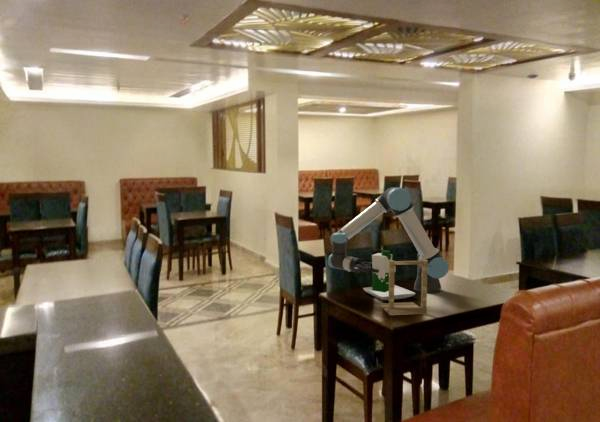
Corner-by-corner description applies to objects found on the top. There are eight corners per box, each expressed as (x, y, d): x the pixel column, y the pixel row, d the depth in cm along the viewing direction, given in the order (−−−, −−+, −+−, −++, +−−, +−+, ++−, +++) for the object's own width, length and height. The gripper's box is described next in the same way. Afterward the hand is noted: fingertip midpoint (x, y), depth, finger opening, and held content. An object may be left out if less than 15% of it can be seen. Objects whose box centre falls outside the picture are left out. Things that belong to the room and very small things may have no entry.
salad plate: (362, 293, 268) (362, 287, 267) (394, 290, 275) (395, 284, 275) (381, 303, 248) (381, 296, 248) (416, 299, 255) (416, 293, 255)
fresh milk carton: (385, 293, 234) (386, 252, 232) (369, 290, 240) (369, 250, 238) (393, 289, 241) (394, 250, 239) (377, 286, 247) (377, 248, 245)
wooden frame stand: (379, 304, 244) (380, 254, 241) (413, 303, 246) (414, 254, 244) (389, 315, 226) (391, 261, 224) (426, 314, 228) (428, 260, 226)
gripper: (365, 268, 260) (401, 274, 244) (340, 274, 245) (377, 281, 229) (365, 254, 259) (401, 260, 243) (340, 260, 244) (377, 266, 228)
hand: (390, 270), depth 236 cm, fingers closed on fresh milk carton, 8 cm apart
